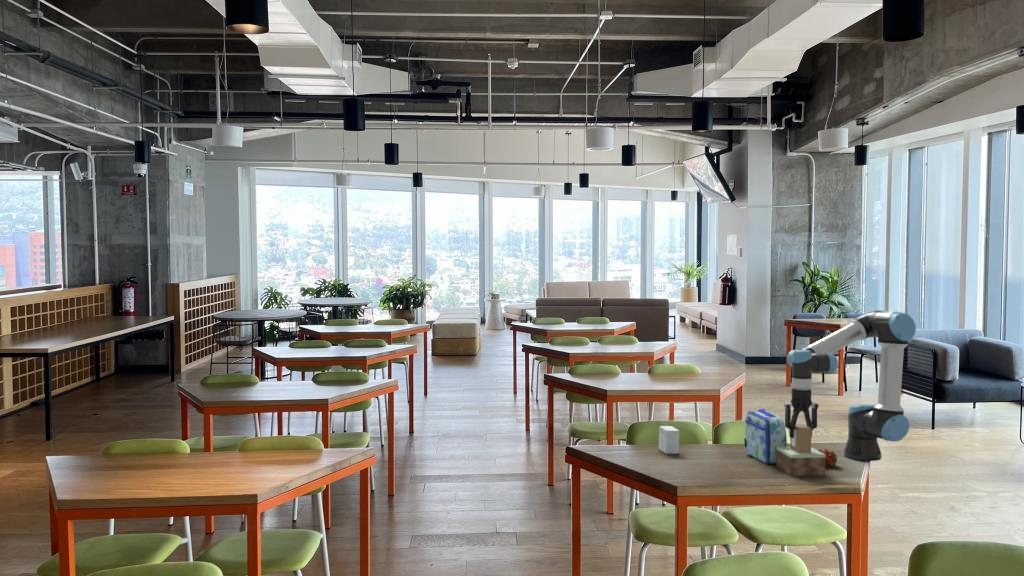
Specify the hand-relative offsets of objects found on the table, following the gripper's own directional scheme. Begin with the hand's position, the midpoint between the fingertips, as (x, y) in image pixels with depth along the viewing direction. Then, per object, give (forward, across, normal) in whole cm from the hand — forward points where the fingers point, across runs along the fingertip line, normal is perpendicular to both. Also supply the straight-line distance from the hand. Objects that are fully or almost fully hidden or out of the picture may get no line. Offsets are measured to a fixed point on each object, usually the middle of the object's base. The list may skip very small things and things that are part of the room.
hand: (800, 445), depth 321 cm
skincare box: (+12, +43, -40) cm, 60 cm away
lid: (+3, 0, 0) cm, 3 cm away
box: (+11, 0, 0) cm, 11 cm away
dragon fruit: (+12, -13, -7) cm, 19 cm away
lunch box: (+12, +6, -22) cm, 26 cm away
